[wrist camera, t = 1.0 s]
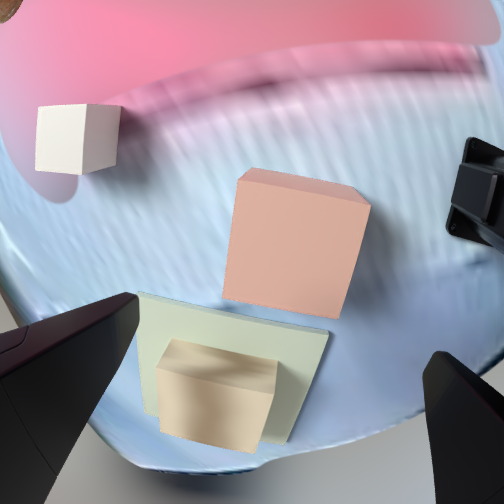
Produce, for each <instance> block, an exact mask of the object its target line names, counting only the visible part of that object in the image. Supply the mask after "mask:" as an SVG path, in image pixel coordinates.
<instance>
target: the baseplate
mask: <svg viewBox="0 0 504 504" xmlns="http://www.w3.org/2000/svg"><path fill="white" fill-rule="evenodd" d="M136 295H137V296H138V297H139V306H140V322H139V326H138V328H137V330H136V332H137V346H138V359H139V370H140V379H141V389H142V397H143V405H144V413H146V414H149V415H152V416H155V417H158V418H159V410H158V397H157V382H156V366H157V364H158V362H159V361H160V359H161V357H162V355H163V353H164V351H165V350H166V348H167V346H168V344H169V342H170V341H171V339H172V338H175V339H179V340H183V341H187V342H191V343H196V344H200V345H204V346H208V347H213V348H217V349H222V350H226V351H231V352H236V353H241V354H246V355H251V356H256V357H261V358H266V359H272V360H278V363H277V373H276V383H275V393H274V397H273V400H272V404H271V407H270V410H269V413H268V416H267V419H266V422H265V425H264V428H263V431H262V434H261V437H260V440H259V441H261V442H268V443H274V444H281V445H285V443H286V441H287V439H288V437H289V435H290V432H291V430H292V428H293V426H294V423H295V421H296V419H297V416H298V414H299V412H300V409H301V407H302V404H303V402H304V400H305V397H306V395H307V392H308V390H309V387H310V385H311V382H312V380H313V377H314V374H315V372H316V369H317V367H318V364H319V361H320V359H321V356H322V353H323V350H324V348H325V345H326V342H327V339H328V336H329V333H328V330H322V329H316V328H310V327H304V326H298V325H292V324H287V323H281V322H276V321H271V320H265V319H260V318H255V317H250V316H245V315H240V314H235V313H230V312H226V311H221V310H216V309H212V308H207V307H202V306H198V305H193V304H189V303H185V302H180V301H176V300H172V299H168V298H164V297H159V296H155V295H151V294H147V293H143V292H139V291H138V292H137V293H136Z"/></svg>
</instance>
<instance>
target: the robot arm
mask: <svg viewBox="0 0 504 504" xmlns="http://www.w3.org/2000/svg"><path fill="white" fill-rule="evenodd" d="M472 142H474V144H475V146H474V148H472ZM451 203H452V205H451V208H450V212H449V215H448V219H447V222H446V230H447V232H448V233H449V234H451V235H453V236H457V237H461V238H464V239H468V240H471V241H475V242H478V243H481V244H485V245H488V246H491V247H495V248H496V249H498V250H499V251H500V252H502V253H503V254H504V151H503V150H501V149H499V148H497V147H495V146H493V145H491V144H489V143H487V142H484V141H482V140H480V139H478V138H475V137H469V138H468V139H467V140H466V143H465V149H464V154H463V159H462V163H461V164H460V165H459V170H458V174H457V178H456V183H455V187H454V191H453V195H452V199H451ZM453 224H455V228H454V229H453V230H451V227H452V225H453ZM139 322H140V306H139V297H138V296H137V295H136V294H132V293H128V292H124V293H121V294H118V295H115V296H112V297H109V298H106V299H103V300H100V301H97V302H94V303H91V304H88V305H85V306H82V307H79V308H76V309H73V310H70V311H67V312H64V313H61V314H58V315H55V316H53V317H50V318H47V319H44V320H41V321H38V322H35V323H32V324H30V325H26V326H23V327H20V328H17V329H14V330H11V331H8V332H5V333H1V334H0V504H44V502H45V500H46V498H47V496H48V494H49V492H50V490H51V489H52V486H53V485H54V483H55V480H56V479H57V476H58V475H59V473H60V471H61V469H62V467H63V465H64V463H65V461H66V460H67V458H68V456H69V454H70V452H71V450H72V448H73V447H74V445H75V443H76V441H77V439H78V437H79V436H80V434H81V432H82V430H83V429H84V427H85V425H86V423H87V421H88V420H89V418H90V416H91V414H92V413H93V411H94V409H95V408H96V406H97V404H98V402H99V401H100V399H101V397H102V395H103V394H104V392H105V390H106V389H107V387H108V385H109V384H110V382H111V380H112V379H113V377H114V375H115V374H116V372H117V370H118V368H119V367H120V365H121V363H122V361H123V359H124V356H125V354H126V352H127V350H128V347H129V345H130V343H131V341H132V339H133V337H134V334H135V332H136V330H137V328H138V326H139ZM422 379H423V389H424V400H425V413H426V422H427V429H428V435H429V442H430V449H431V456H432V464H433V474H434V484H435V497H436V504H504V396H503V395H501V394H500V393H499V392H498V391H496V390H495V389H494V388H493V387H492V386H490V385H489V384H488V383H487V382H485V381H484V380H483V379H481V378H480V377H479V376H478V375H476V374H475V373H474V372H473V371H471V370H470V369H469V368H468V367H466V366H465V365H464V364H462V363H461V362H460V361H459V360H457V359H456V358H455V357H453V356H452V355H451V354H450V353H448V352H445V351H436V352H435V353H434V354H433V355H432V357H431V359H430V361H429V362H428V364H427V366H426V368H425V369H424V372H423V377H422Z"/></svg>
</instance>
